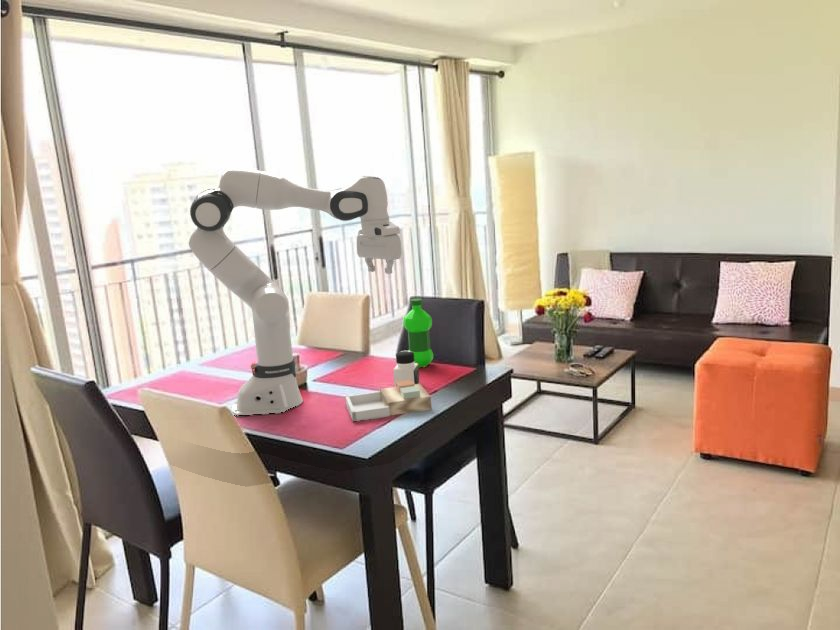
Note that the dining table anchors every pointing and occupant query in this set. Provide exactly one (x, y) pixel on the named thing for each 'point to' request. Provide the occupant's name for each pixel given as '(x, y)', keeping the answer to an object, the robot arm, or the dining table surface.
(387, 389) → the birch block
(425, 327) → the plastic bottle
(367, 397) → the grey box
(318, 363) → the dining table surface
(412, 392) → the sage tile
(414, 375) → the medicine bottle
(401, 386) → the terracotta tile
